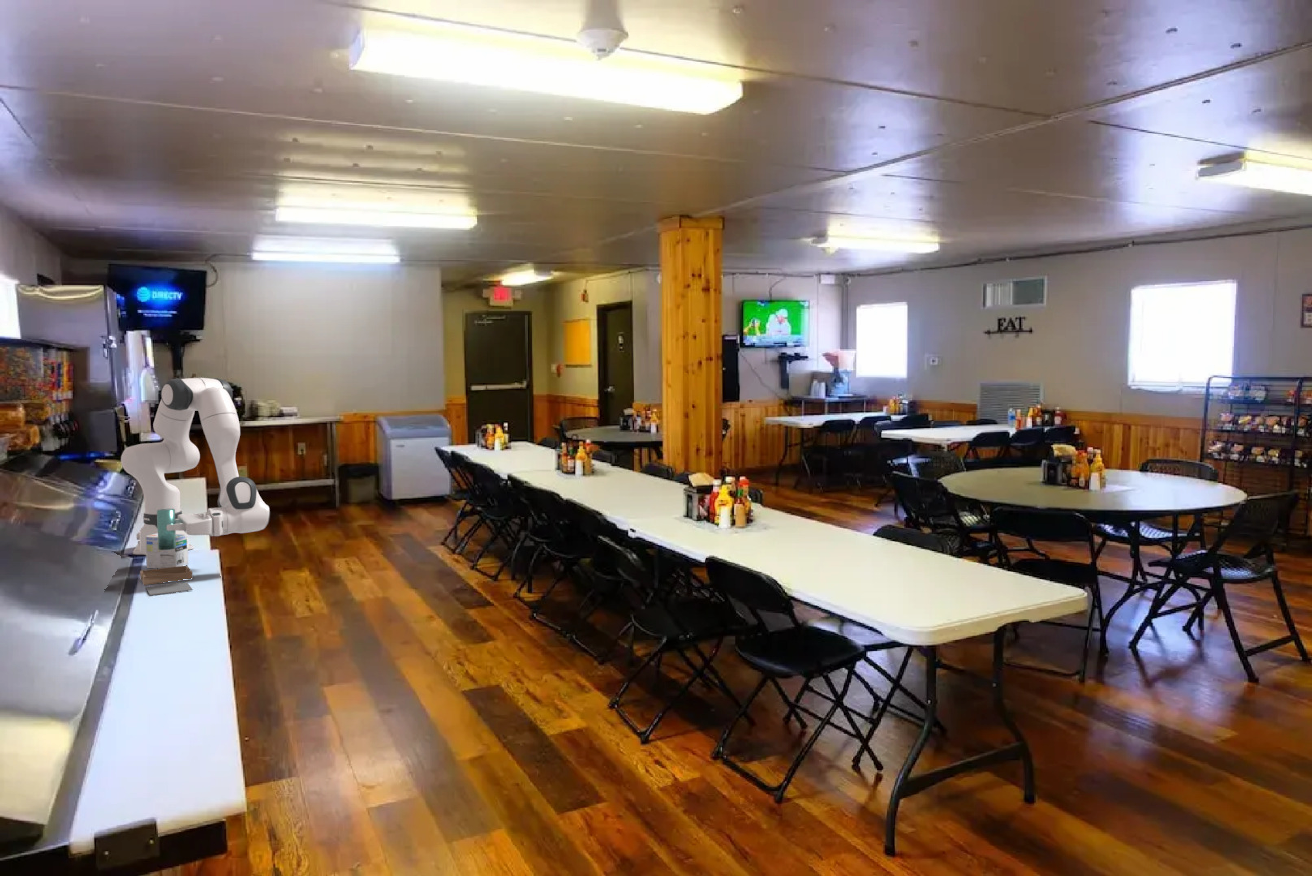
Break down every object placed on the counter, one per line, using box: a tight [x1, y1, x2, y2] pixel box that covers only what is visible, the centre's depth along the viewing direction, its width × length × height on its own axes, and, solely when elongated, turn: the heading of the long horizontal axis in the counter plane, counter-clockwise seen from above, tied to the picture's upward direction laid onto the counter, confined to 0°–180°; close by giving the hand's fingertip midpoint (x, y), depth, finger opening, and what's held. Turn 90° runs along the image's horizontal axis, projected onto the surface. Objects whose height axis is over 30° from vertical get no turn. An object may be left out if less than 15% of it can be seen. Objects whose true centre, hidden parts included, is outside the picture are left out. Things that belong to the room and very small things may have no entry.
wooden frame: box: [139, 565, 193, 586], centre depth 268 cm, size 10×13×2 cm
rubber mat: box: [144, 582, 193, 597], centre depth 256 cm, size 11×11×1 cm
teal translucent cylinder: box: [157, 509, 176, 550], centre depth 265 cm, size 5×5×12 cm
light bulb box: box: [145, 533, 189, 569], centre depth 284 cm, size 11×7×11 cm, turn 84°
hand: (165, 525), depth 264 cm, fingers closed on teal translucent cylinder, 5 cm apart
